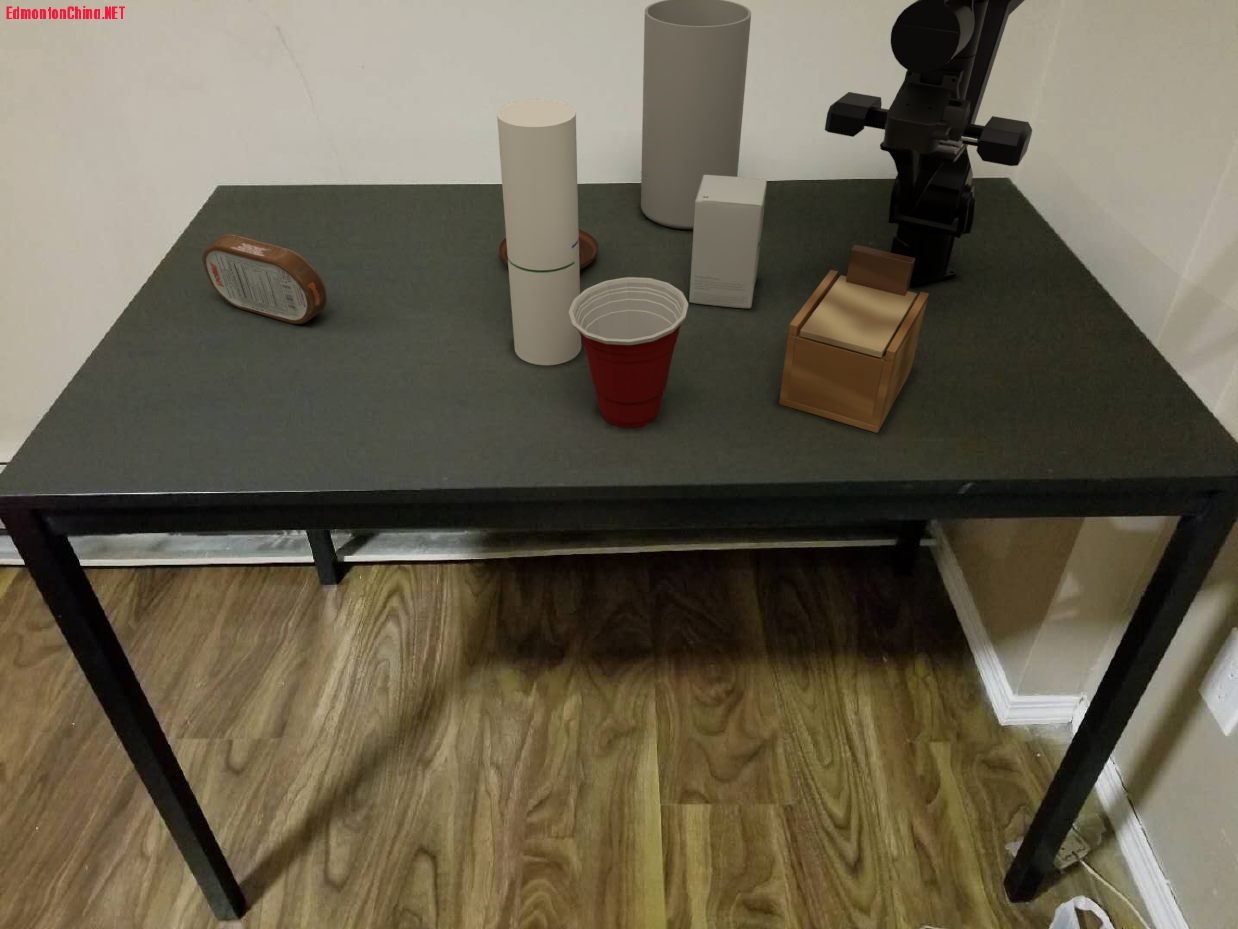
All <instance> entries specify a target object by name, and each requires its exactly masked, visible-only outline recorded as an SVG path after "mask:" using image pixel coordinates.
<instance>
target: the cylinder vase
mask: <svg viewBox="0 0 1238 929" xmlns="http://www.w3.org/2000/svg"><path fill="white" fill-rule="evenodd" d="M643 19H644V20H643V21H644V22H643V28H644V29H643V73H642V74H643V76H642V119H641V120H642V127H641V128H642V130H641V173H640V174H641V175H640V176H641V177H640V208H641V211H642V213H643V214H644V215H645V216H646V217H647V219H649V220H651V221H652V222H654V223H656V224H658V225H661V226H663V227H667V228H672V229H676V230H678V229H679V230H694V214H695V200H696V198H697V194H698V191H699V187H700V185H701V181H702V178H703V175H717V176H732V177H738V175H739V174H738V172H739V162H740V159H739V158H740V152H741V140H742V139H741V138H742V126H743V114H744V103H745V91H746V80H747V79H746V78H747V68H748V57H749V56H748V54H749V44H750V33H751V22H752V21H751V20H752V11H751V10H750V9H749V8H748V7H747V6H745V5H743V4H741V3H738V2H734V1H730V0H659V1H655V2H653V3H651V4H649V5H648V6H646V7H645V8H644V18H643Z"/></svg>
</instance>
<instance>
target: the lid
mask: <svg viewBox="0 0 1238 929" xmlns="http://www.w3.org/2000/svg"><path fill="white" fill-rule="evenodd" d="M890 252H891V251H885V250H881V249H876V248H872V247H869V246H868V247H867V246H863V245H859V244H854V245H853V247H852V248H851V250H850V255H849V261H848V267H847V273H846V275H842V274H841V275H839V277H837V281H836V282H835V284H834V285H833V287H832V288H831V289H830V291H829V292H828V293H827V295H826V296H825V297H824V299H823V300H822V301H821V303H820V304H819V305H818V307H817V308H816V310H815V311H814V312H813V314H812V315H811V316H810V318H809V319H808V320H807V322H806V323H805V324H804V326H803V327H802V329H801V330H800V336H801V337H804V338H808V339H812V340H816V341H819V342H823V343H827V344H831V345H834V346H838V347H842V348H845V349H849V350H853V351H857V352H860V353H864V354H868V355H872V356H875V357H879V358H881V357H882V356H883V354H884V352H885V351H886V349H887V347H888V346H889V344H890V342H891V341H892V339H893V337H894V335H895V334H896V332H897V330H898V329H899V327H900V325H901V324H902V322H903V320H904V318H905V317H906V315H907V313H908V312H909V310H910V308H911V307H912V305H913V303H914V302H915V301H916V299H917V298H918V293H917V292H913V291H909V288H910V286H911V285H910V280H911V276H912V271H913V267H914V262H915V258H912V257H908V256H904V255H899V254H895V253H890Z"/></svg>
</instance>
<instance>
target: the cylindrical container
mask: <svg viewBox="0 0 1238 929" xmlns="http://www.w3.org/2000/svg"><path fill="white" fill-rule="evenodd" d="M496 119H497V133H498V145H499V146H498V148H499V159H500V160H499V161H500V173H501V186H502V197H503V214H504V229H505V238H506V242H507V255H508V264H507V268H508V281H509V293H510V306H511V308H510V309H511V319H512V332H513V345H514V352H515V355H516V356H517V357H518V358H520V359H521V360H522V361H524V362H526V363H529V364H532V365H538V366H556V365H560V364H561V365H562V364H564V363H567V362H570V361H572V360H573V359H574V358H577V356H578V355H579V353H580V352H581V350H582V338H581V335H580V333H579V331H578V330H576V329H575V328H574V326H573V324H572V321H571V318H570V315H569V310H570V307H571V305H572V302H573V300H574V299H575V298H576V297H577V296H578V295H580V294H581V277H580V275H581V274H580V272H581V271H580V270H581V269H580V270H579V238H578V237H579V230H580V228H579V193H578V191H579V190H578V152H577V150H578V149H577V148H578V147H577V144H578V142H577V111H576V109H575V108H574V107H573V106H572V105H570V104H569V103H567V102H564V101H559V100H554V99H547V98H540V99H539V98H535V99H534V98H533V99H523V100H522V99H521V100H517V101H513V102H510V103H507V104H505V105H503V106H501V107H500V108H499V109H498V110H497V112H496Z"/></svg>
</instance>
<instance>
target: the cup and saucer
mask: <svg viewBox="0 0 1238 929" xmlns="http://www.w3.org/2000/svg"><path fill="white" fill-rule="evenodd" d="M578 238H579V270H582V269H584V268H585V267H587V266H589V265H590V264H591V263H592V262H593V261H594V260H595V259H596V258H597V255H598V252H599V243H598V241H597V239H595V237H593V235H591V233H589V232H587V231H585V230H582V229H579V237H578ZM498 252H499V255H500V258H501V259H502V261H503V262H504V263H505V264H506V265H508V255H507V242H506V237H505V238H504V239H503V240H502V241H501V242H500V244H499V247H498Z"/></svg>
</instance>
